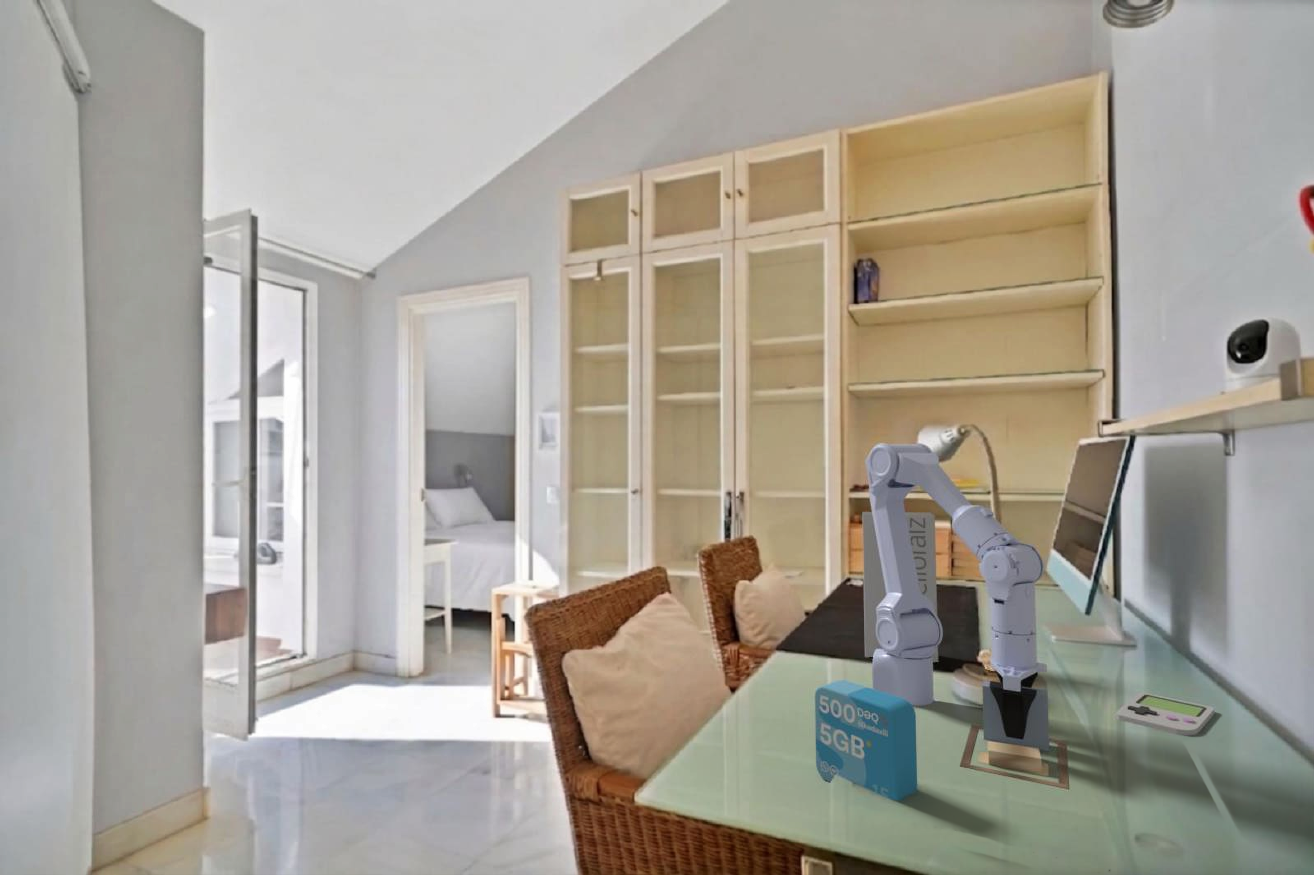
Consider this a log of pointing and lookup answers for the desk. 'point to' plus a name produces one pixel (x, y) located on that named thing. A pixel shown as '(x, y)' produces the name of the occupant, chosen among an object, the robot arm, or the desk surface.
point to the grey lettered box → (874, 585)
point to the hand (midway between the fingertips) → (1015, 727)
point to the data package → (866, 738)
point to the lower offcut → (984, 759)
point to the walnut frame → (1061, 774)
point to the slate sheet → (1035, 724)
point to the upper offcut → (1014, 756)
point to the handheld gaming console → (1165, 714)
